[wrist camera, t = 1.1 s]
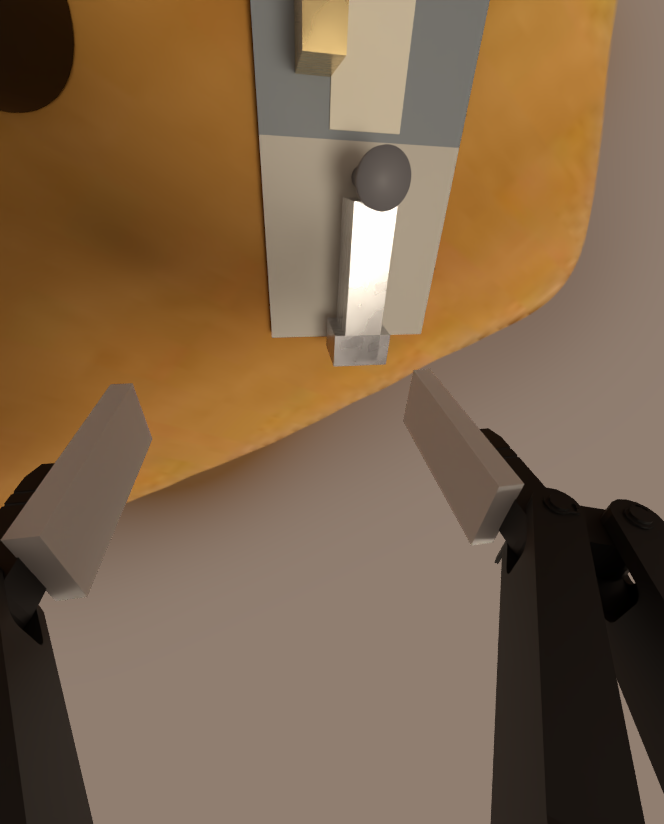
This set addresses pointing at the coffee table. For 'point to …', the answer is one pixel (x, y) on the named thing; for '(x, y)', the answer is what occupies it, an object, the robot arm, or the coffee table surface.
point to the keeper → (320, 35)
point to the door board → (361, 148)
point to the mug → (33, 52)
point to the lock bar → (361, 286)
